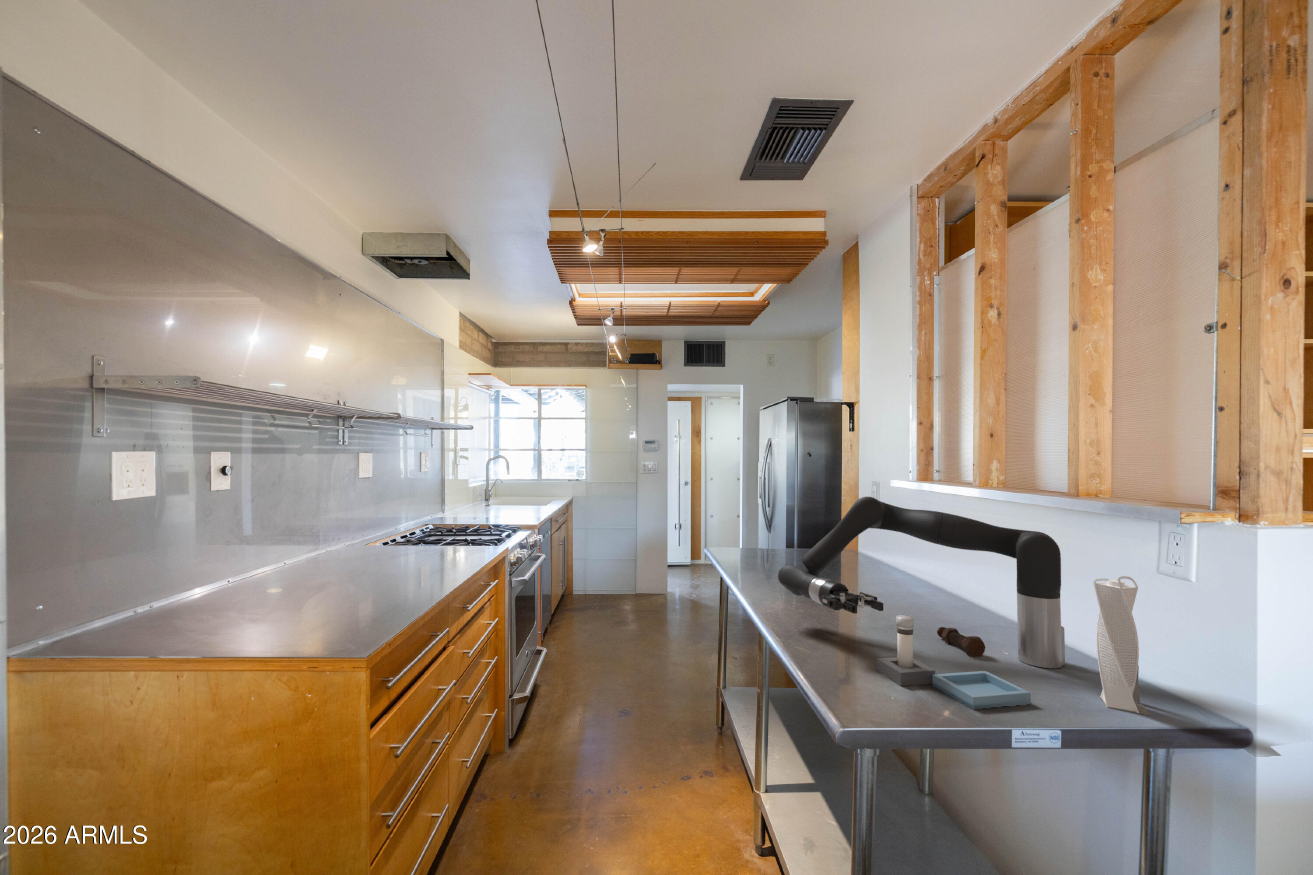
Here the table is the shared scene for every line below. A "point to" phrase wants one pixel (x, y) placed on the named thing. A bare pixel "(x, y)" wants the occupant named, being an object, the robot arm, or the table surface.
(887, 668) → the fuse holder
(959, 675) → the tray
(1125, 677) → the skyscraper
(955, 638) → the bolt
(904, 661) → the fuse
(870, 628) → the table surface
